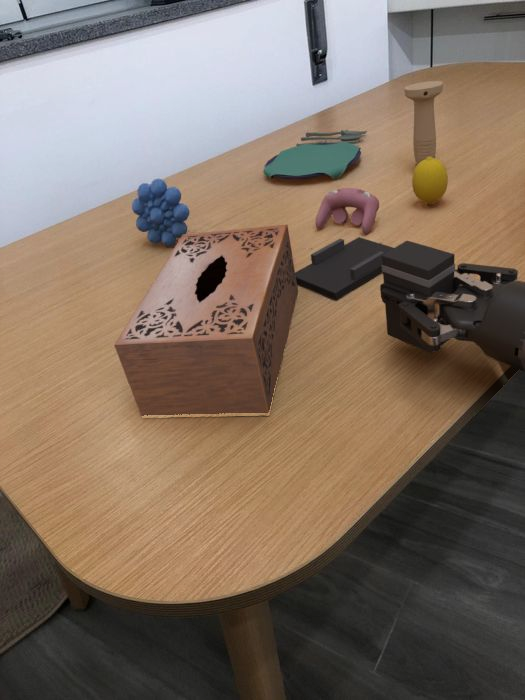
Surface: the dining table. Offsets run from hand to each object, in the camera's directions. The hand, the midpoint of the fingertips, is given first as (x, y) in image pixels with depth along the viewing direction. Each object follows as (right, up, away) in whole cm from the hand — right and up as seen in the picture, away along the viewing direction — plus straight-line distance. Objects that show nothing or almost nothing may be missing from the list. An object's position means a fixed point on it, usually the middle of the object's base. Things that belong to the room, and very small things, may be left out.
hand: (397, 281), depth 65 cm
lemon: (+13, +17, +35) cm, 41 cm away
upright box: (+3, -6, +1) cm, 7 cm away
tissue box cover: (-19, -7, +10) cm, 23 cm away
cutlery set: (-2, +33, +63) cm, 71 cm away
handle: (+16, +26, +48) cm, 57 cm away
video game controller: (0, +13, +33) cm, 36 cm away
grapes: (-30, +11, +40) cm, 51 cm away
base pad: (-2, +4, +21) cm, 22 cm away
